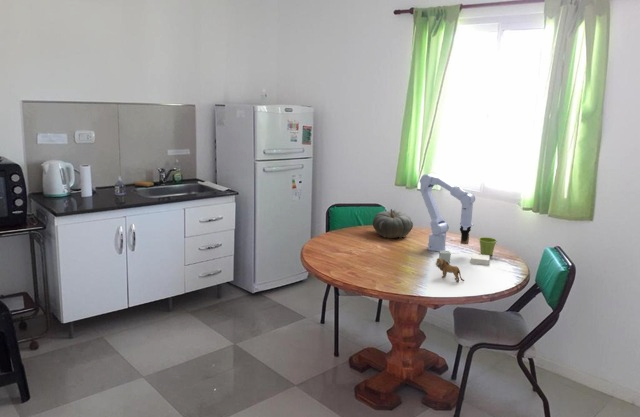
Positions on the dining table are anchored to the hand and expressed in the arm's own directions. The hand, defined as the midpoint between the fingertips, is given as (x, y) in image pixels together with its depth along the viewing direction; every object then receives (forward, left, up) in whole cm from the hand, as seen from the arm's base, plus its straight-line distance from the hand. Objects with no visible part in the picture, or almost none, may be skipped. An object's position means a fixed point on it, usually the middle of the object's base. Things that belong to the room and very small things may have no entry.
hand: (464, 239), depth 270 cm
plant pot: (+12, +6, -9) cm, 16 cm away
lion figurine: (-5, -41, -9) cm, 42 cm away
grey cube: (-9, -14, -9) cm, 19 cm away
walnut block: (0, 0, -2) cm, 2 cm away
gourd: (-44, +26, -9) cm, 52 cm away
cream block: (+9, -8, -9) cm, 15 cm away
